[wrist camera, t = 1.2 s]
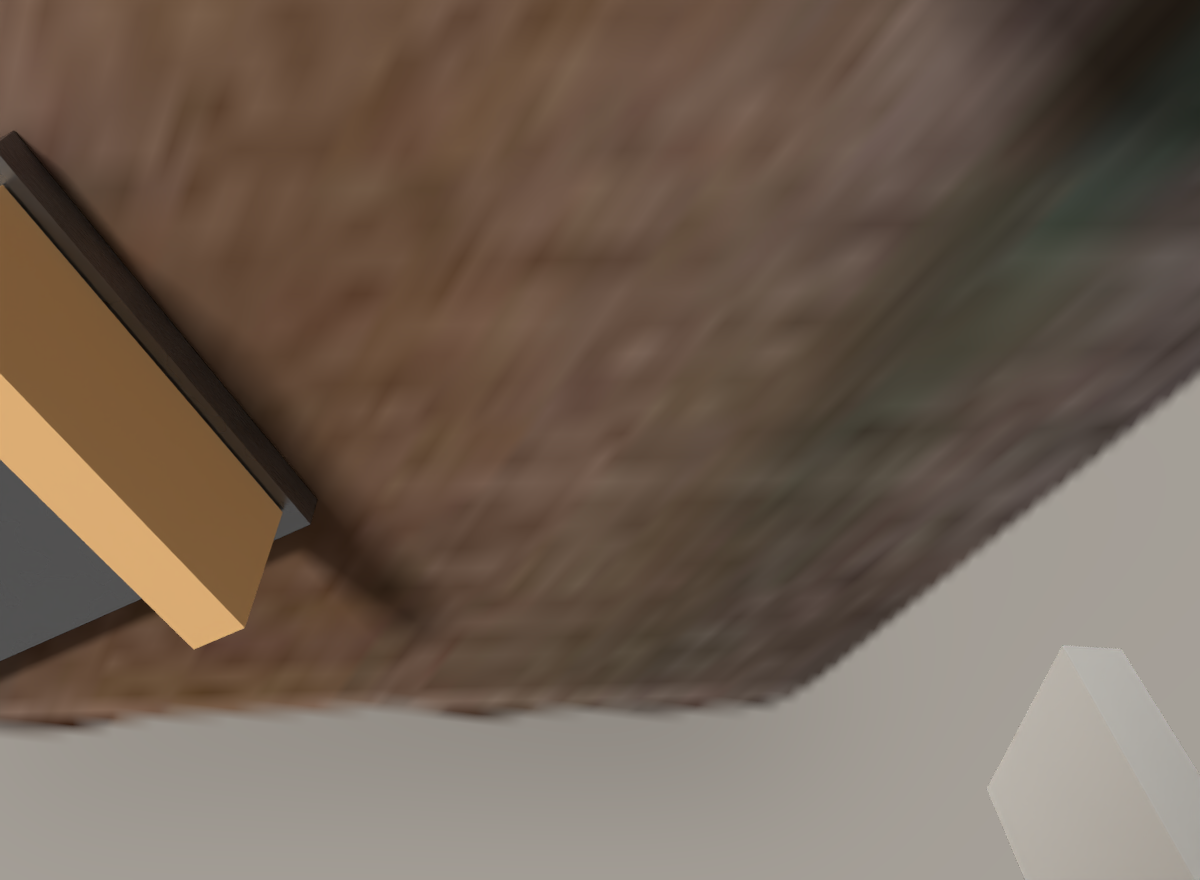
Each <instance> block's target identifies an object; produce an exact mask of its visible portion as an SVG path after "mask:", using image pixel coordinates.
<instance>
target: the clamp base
mask: <svg viewBox="0 0 1200 880" xmlns="http://www.w3.org/2000/svg"><path fill="white" fill-rule="evenodd" d="M2 185H3V186H4V187H5V188H6V189H7V190H8V191H9V193H10V194H11V195H12V196H13V197H14V198H15V200H16V201H17V202H18V203H19V204H20V205H21V207H22V208H23V209H24V210H25V211H26V212H27V214H28V215H29V216H30V217H31V218H32V220H33V221H34V222H35V223H36V224H37V225H38V227H39V228H40V229H41V230H42V231H43V232H44V234H45V235H46V236H47V237H48V238H49V239H50V241H51V242H52V243H53V244H54V245H55V246H56V248H57V249H58V250H59V251H60V252H61V253H62V255H63V256H64V257H65V258H66V259H67V260H68V262H69V263H70V264H71V265H72V266H73V267H74V269H75V270H76V271H77V272H78V273H79V274H80V276H81V277H82V278H83V279H84V280H85V282H86V283H87V284H88V285H89V286H90V287H91V289H92V290H93V291H94V292H95V293H96V294H97V296H98V297H99V298H100V299H101V300H102V301H103V303H104V304H105V305H106V306H107V307H108V308H109V310H110V311H111V312H112V313H113V314H114V315H115V317H116V318H117V319H118V320H119V321H120V322H121V324H122V325H123V326H124V327H125V328H126V329H127V331H128V332H129V333H130V334H131V335H132V337H133V338H134V339H135V340H136V341H137V342H138V344H139V345H140V346H141V347H142V348H143V349H144V351H145V352H146V353H147V354H148V355H149V356H150V358H151V359H152V360H153V361H154V362H155V363H156V365H157V366H158V367H159V368H160V369H161V370H162V372H163V373H164V374H165V375H166V376H167V377H168V379H169V380H170V381H171V382H172V383H173V384H174V386H175V387H176V388H177V389H178V390H179V392H180V393H181V394H182V395H183V396H184V397H185V399H186V400H187V401H188V402H189V403H190V404H191V406H192V407H193V408H194V409H195V410H196V411H197V413H198V414H199V415H200V416H201V417H202V418H203V420H204V421H205V422H206V423H207V424H208V425H209V427H210V428H211V429H212V430H213V431H214V432H215V434H216V435H217V436H218V437H219V438H220V439H221V441H222V442H223V443H224V444H225V445H226V446H227V448H228V449H229V450H230V451H231V452H232V454H233V455H234V456H235V457H236V458H237V459H238V461H239V462H240V463H241V464H242V465H243V466H244V468H245V469H246V470H247V471H248V472H249V473H250V475H251V476H252V477H253V478H254V479H255V480H256V482H257V483H258V484H259V485H260V486H261V487H262V489H263V490H264V491H265V492H266V493H267V494H268V496H269V497H270V498H271V499H272V500H273V501H274V503H275V504H276V505H277V506H278V507H279V509H280V510H281V511H282V512H283V513H282V516H281V519H280V522H279V525H278V528H277V531H276V534H275V537H274V540H276V539H278V538H281V537H283V536H285V535H287V534H290V533H292V532H294V531H296V530H299V529H301V528H303V527H306V526H308V525H310V524H311V521H312V517H313V514H314V510H315V507H316V503H317V499H316V497H315V496H314V495H313V494H312V493H311V491H310V490H309V489H308V488H307V487H306V485H305V484H304V483H303V482H302V480H301V479H300V478H299V477H298V476H297V474H296V473H295V472H294V471H293V470H292V468H291V467H290V466H289V465H288V463H287V462H286V461H285V460H284V459H283V457H282V456H281V455H280V454H279V452H278V451H277V450H276V449H275V448H274V446H273V445H272V444H271V443H270V442H269V440H268V439H267V438H266V437H265V435H264V434H263V433H262V432H261V431H260V429H259V428H258V427H257V426H256V425H255V423H254V422H253V421H252V420H251V418H250V417H249V416H248V415H247V414H246V412H245V411H244V410H243V409H242V407H241V406H240V405H239V404H238V403H237V401H236V400H235V399H234V398H233V397H232V395H231V394H230V393H229V392H228V390H227V389H226V388H225V387H224V386H223V384H222V383H221V382H220V381H219V380H218V378H217V377H216V376H215V375H214V373H213V372H212V371H211V370H210V369H209V367H208V366H207V365H206V364H205V363H204V361H203V360H202V359H201V358H200V356H199V355H198V354H197V353H196V352H195V350H194V349H193V348H192V347H191V345H190V344H189V343H188V342H187V341H186V339H185V338H184V337H183V336H182V335H181V333H180V332H179V331H178V330H177V328H176V327H175V326H174V325H173V324H172V322H171V321H170V320H169V319H168V318H167V316H166V315H165V314H164V313H163V311H162V310H161V309H160V308H159V307H158V305H157V304H156V303H155V302H154V300H153V299H152V298H151V297H150V296H149V294H148V293H147V292H146V291H145V290H144V288H143V287H142V286H141V285H140V283H139V282H138V281H137V280H136V279H135V277H134V276H133V275H132V274H131V273H130V271H129V270H128V269H127V268H126V266H125V265H124V264H123V263H122V262H121V260H120V259H119V258H118V257H117V255H116V254H115V253H114V252H113V251H112V249H111V248H110V247H109V246H108V245H107V243H106V242H105V241H104V240H103V238H102V237H101V236H100V235H99V234H98V232H97V231H96V230H95V229H94V228H93V226H92V225H91V224H90V223H89V221H88V220H87V219H86V218H85V217H84V215H83V214H82V213H81V212H80V211H79V209H78V208H77V207H76V206H75V204H74V203H73V202H72V201H71V200H70V198H69V197H68V196H67V195H66V193H65V192H64V191H63V190H62V189H61V187H60V186H59V185H58V184H57V183H56V181H55V180H54V179H53V178H52V176H51V175H50V174H49V173H48V172H47V170H46V169H45V168H44V167H43V166H42V164H41V163H40V162H39V161H38V159H37V158H36V157H35V156H34V155H33V153H32V152H31V151H30V150H29V148H28V147H27V146H26V145H25V144H24V142H23V141H22V140H21V139H20V138H19V136H18V135H17V134H16V133H15V131H12V132H11V133H9V134H7V135H5V136H4V137H2V138H0V186H2ZM274 540H273V541H274ZM140 599H142V598H141V597H140V596H139V595H138V594H137V593H136V592H135V591H134V590H133V589H132V588H131V587H130V586H129V585H128V584H127V583H126V582H125V581H124V580H123V579H122V578H121V577H119V576H118V575H117V574H116V573H115V572H114V571H113V570H112V569H111V568H110V567H109V566H108V565H107V564H106V563H105V562H104V561H103V560H102V559H101V558H100V557H99V556H98V555H97V554H96V553H95V552H94V551H93V550H92V549H91V548H90V547H89V546H88V545H87V544H86V543H85V542H84V541H83V540H82V539H81V538H80V537H79V536H78V535H77V534H76V533H75V532H74V531H73V530H72V529H71V528H70V527H69V526H68V525H67V524H65V523H64V522H63V521H62V520H61V519H60V518H59V517H58V516H57V515H56V514H55V513H54V512H53V511H52V510H51V509H50V508H49V507H48V506H47V505H46V504H45V503H44V502H43V501H42V500H41V499H40V498H39V497H38V496H37V495H36V494H35V493H34V492H33V491H32V490H31V489H30V488H29V487H28V486H27V485H26V484H25V483H24V482H23V481H22V480H21V479H20V478H19V477H18V476H17V475H16V474H15V473H14V472H13V471H11V470H10V469H9V468H8V467H7V466H6V465H5V464H4V463H3V462H2V461H1V460H0V661H1V660H4V659H6V658H8V657H10V656H13V655H15V654H17V653H19V652H22V651H24V650H26V649H29V648H31V647H33V646H35V645H38V644H40V643H42V642H44V641H47V640H49V639H51V638H54V637H56V636H58V635H60V634H63V633H65V632H67V631H69V630H72V629H74V628H76V627H79V626H81V625H83V624H85V623H88V622H90V621H92V620H94V619H97V618H99V617H101V616H103V615H106V614H108V613H110V612H113V611H115V610H117V609H119V608H122V607H124V606H126V605H128V604H131V603H133V602H135V601H138V600H140Z"/></svg>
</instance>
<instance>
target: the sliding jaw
mask: <svg viewBox="0 0 1200 880" xmlns="http://www.w3.org/2000/svg"><path fill="white" fill-rule="evenodd" d="M0 460H1V461H2V462H3V463H4V464H5V465H6V466H7V467H8V468H9V469H10V470H11V471H13V472H14V473H15V474H16V475H17V476H18V477H19V478H20V479H21V480H22V481H23V482H24V483H25V484H26V485H27V486H28V487H29V488H30V489H31V490H32V491H33V492H34V493H35V494H36V495H37V496H38V497H39V498H40V499H41V500H42V501H43V502H44V503H45V504H46V505H47V506H48V507H49V508H50V509H51V510H52V511H53V512H54V513H55V514H56V515H57V516H58V517H59V518H60V519H61V520H62V521H63V522H64V523H65V524H67V525H68V526H69V527H70V528H71V529H72V530H73V531H74V532H75V533H76V534H77V535H78V536H79V537H80V538H81V539H82V540H83V541H84V542H85V543H86V544H87V545H88V546H89V547H90V548H91V549H92V550H93V551H94V552H95V553H96V554H97V555H98V556H99V557H100V558H101V559H102V560H103V561H104V562H105V563H106V564H107V565H108V566H109V567H110V568H111V569H112V570H113V571H114V572H115V573H116V574H117V575H118V576H119V577H121V578H122V579H123V580H124V581H125V582H126V583H127V584H128V585H129V586H130V587H131V588H132V589H133V590H134V591H135V592H136V593H137V594H138V595H139V596H140V597H141V598H142V599H143V600H144V601H145V602H146V603H147V604H148V605H149V606H150V607H151V608H152V609H153V610H154V611H155V612H156V613H157V614H158V615H159V616H160V617H161V618H162V619H163V620H164V621H165V622H166V623H167V624H168V625H169V626H170V627H171V628H172V629H173V630H175V631H176V632H177V633H178V634H179V635H180V636H181V637H182V638H183V639H184V640H185V641H186V642H187V643H188V644H189V645H190V646H191V647H192V648H193V649H196V648H198V647H201V646H203V645H205V644H208V643H210V642H212V641H215V640H217V639H220V638H222V637H224V636H227V635H229V634H231V633H234V632H236V631H238V630H241V629H243V628H245V626H246V623H247V620H248V617H249V613H250V610H251V607H252V604H253V601H254V598H255V595H256V592H257V589H258V586H259V583H260V580H261V577H262V574H263V571H264V568H265V565H266V562H267V559H268V556H269V553H270V550H271V546H272V543H273V540H274V537H275V534H276V531H277V528H278V525H279V522H280V519H281V516H282V513H283V512H282V511H281V510H280V509H279V507H278V506H277V505H276V504H275V503H274V501H273V500H272V499H271V498H270V497H269V496H268V494H267V493H266V492H265V491H264V490H263V489H262V487H261V486H260V485H259V484H258V483H257V482H256V480H255V479H254V478H253V477H252V476H251V475H250V473H249V472H248V471H247V470H246V469H245V468H244V466H243V465H242V464H241V463H240V462H239V461H238V459H237V458H236V457H235V456H234V455H233V454H232V452H231V451H230V450H229V449H228V448H227V446H226V445H225V444H224V443H223V442H222V441H221V439H220V438H219V437H218V436H217V435H216V434H215V432H214V431H213V430H212V429H211V428H210V427H209V425H208V424H207V423H206V422H205V421H204V420H203V418H202V417H201V416H200V415H199V414H198V413H197V411H196V410H195V409H194V408H193V407H192V406H191V404H190V403H189V402H188V401H187V400H186V399H185V397H184V396H183V395H182V394H181V393H180V392H179V390H178V389H177V388H176V387H175V386H174V384H173V383H172V382H171V381H170V380H169V379H168V377H167V376H166V375H165V374H164V373H163V372H162V370H161V369H160V368H159V367H158V366H157V365H156V363H155V362H154V361H153V360H152V359H151V358H150V356H149V355H148V354H147V353H146V352H145V351H144V349H143V348H142V347H141V346H140V345H139V344H138V342H137V341H136V340H135V339H134V338H133V337H132V335H131V334H130V333H129V332H128V331H127V329H126V328H125V327H124V326H123V325H122V324H121V322H120V321H119V320H118V319H117V318H116V317H115V315H114V314H113V313H112V312H111V311H110V310H109V308H108V307H107V306H106V305H105V304H104V303H103V301H102V300H101V299H100V298H99V297H98V296H97V294H96V293H95V292H94V291H93V290H92V289H91V287H90V286H89V285H88V284H87V283H86V282H85V280H84V279H83V278H82V277H81V276H80V274H79V273H78V272H77V271H76V270H75V269H74V267H73V266H72V265H71V264H70V263H69V262H68V260H67V259H66V258H65V257H64V256H63V255H62V253H61V252H60V251H59V250H58V249H57V248H56V246H55V245H54V244H53V243H52V242H51V241H50V239H49V238H48V237H47V236H46V235H45V234H44V232H43V231H42V230H41V229H40V228H39V227H38V225H37V224H36V223H35V222H34V221H33V220H32V218H31V217H30V216H29V215H28V214H27V212H26V211H25V210H24V209H23V208H22V207H21V205H20V204H19V203H18V202H17V201H16V200H15V198H14V197H13V196H12V195H11V194H10V193H9V191H8V190H7V189H6V188H5V187H4V186H3V185H2V186H0Z"/></svg>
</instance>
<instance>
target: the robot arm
mask: <svg viewBox="0 0 1200 880" xmlns="http://www.w3.org/2000/svg"><path fill="white" fill-rule="evenodd" d="M987 791H988V793H989V796H990V798H991V801H992V803H993V805H994V808H995V810H996V813H997V815H998V817H999V820H1000V822H1001V824H1002V827H1003V829H1004V832H1005V834H1006V837H1007V839H1008V841H1009V844H1010V846H1011V848H1012V851H1013V853H1014V856H1015V858H1016V860H1017V863H1018V865H1019V868H1020V870H1021V872H1022V875H1023V877H1024V880H1200V774H1199V772H1198V771H1197V769H1196V767H1195V766H1194V764H1193V763H1192V761H1191V759H1190V758H1189V756H1188V755H1187V753H1186V751H1185V750H1184V748H1183V747H1182V745H1181V743H1180V742H1179V740H1178V739H1177V737H1176V736H1175V734H1174V733H1173V731H1172V729H1171V727H1170V726H1169V724H1168V723H1167V721H1166V720H1165V718H1164V717H1163V715H1162V713H1161V712H1160V710H1159V708H1158V707H1157V705H1156V703H1155V702H1154V700H1153V699H1152V697H1151V696H1150V694H1149V692H1148V691H1147V689H1146V688H1145V686H1144V684H1143V683H1142V681H1141V679H1140V678H1139V676H1138V675H1137V673H1136V672H1135V670H1134V668H1133V667H1132V665H1131V663H1130V662H1129V661H1128V659H1127V657H1126V656H1125V654H1124V652H1123V651H1122V649H1117V648H1098V647H1081V646H1064V645H1063V646H1062V647H1061V649H1060V651H1059V653H1058V655H1057V657H1056V658H1055V660H1054V662H1053V664H1052V666H1051V668H1050V670H1049V672H1048V673H1047V675H1046V677H1045V679H1044V681H1043V683H1042V685H1041V687H1040V688H1039V691H1038V692H1037V694H1036V696H1035V698H1034V700H1033V702H1032V704H1031V705H1030V707H1029V709H1028V712H1027V713H1026V715H1025V717H1024V719H1023V721H1022V723H1021V724H1020V726H1019V728H1018V730H1017V732H1016V734H1015V736H1014V738H1013V739H1012V741H1011V743H1010V745H1009V747H1008V749H1007V751H1006V753H1005V755H1004V756H1003V758H1002V760H1001V762H1000V764H999V766H998V768H997V770H996V772H995V773H994V775H993V777H992V779H991V781H990V783H989V785H988V787H987Z"/></svg>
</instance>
